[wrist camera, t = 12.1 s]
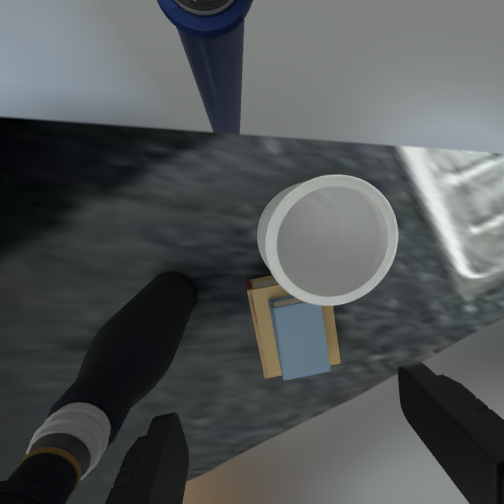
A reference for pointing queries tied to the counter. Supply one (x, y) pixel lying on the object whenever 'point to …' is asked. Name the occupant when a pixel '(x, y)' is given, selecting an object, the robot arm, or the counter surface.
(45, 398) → the counter surface
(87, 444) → the wine bottle
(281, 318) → the pocket book
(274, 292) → the big book
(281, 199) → the jar
